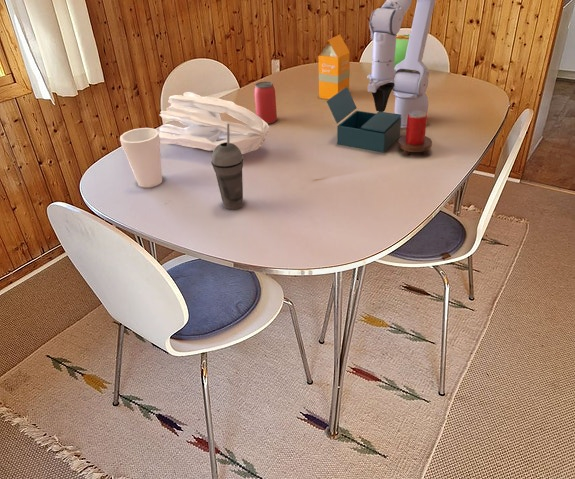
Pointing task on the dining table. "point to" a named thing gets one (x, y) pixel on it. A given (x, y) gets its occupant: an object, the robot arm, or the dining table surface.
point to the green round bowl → (401, 48)
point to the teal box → (369, 130)
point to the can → (416, 127)
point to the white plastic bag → (210, 123)
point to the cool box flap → (341, 104)
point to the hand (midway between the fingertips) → (380, 110)
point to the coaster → (414, 148)
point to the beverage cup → (229, 173)
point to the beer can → (265, 101)
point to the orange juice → (333, 67)
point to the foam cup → (143, 155)
